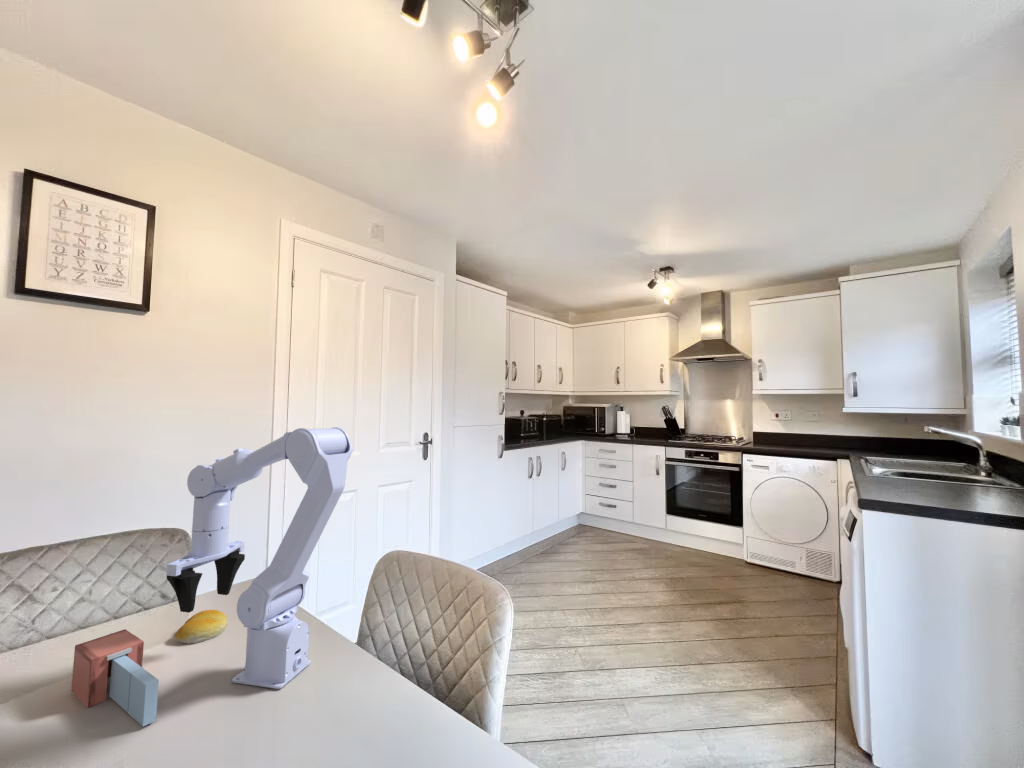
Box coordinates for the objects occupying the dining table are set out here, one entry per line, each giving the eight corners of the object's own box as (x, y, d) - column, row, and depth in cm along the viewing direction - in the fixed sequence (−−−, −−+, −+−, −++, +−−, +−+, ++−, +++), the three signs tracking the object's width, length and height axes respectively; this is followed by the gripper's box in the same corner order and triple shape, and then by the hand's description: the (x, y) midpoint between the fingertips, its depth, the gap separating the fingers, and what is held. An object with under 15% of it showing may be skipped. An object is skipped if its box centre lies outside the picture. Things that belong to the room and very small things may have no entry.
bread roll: (168, 648, 82) (169, 627, 83) (189, 626, 91) (190, 607, 91) (217, 642, 85) (218, 621, 85) (233, 622, 93) (234, 603, 94)
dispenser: (141, 686, 70) (145, 642, 71) (89, 708, 65) (93, 660, 66) (122, 670, 75) (125, 629, 75) (71, 690, 69) (74, 645, 70)
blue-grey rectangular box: (156, 720, 62) (159, 679, 63) (142, 726, 61) (145, 685, 61) (121, 690, 69) (124, 654, 69) (108, 696, 67) (111, 658, 68)
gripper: (225, 518, 89) (221, 585, 88) (154, 537, 75) (148, 617, 73) (254, 520, 87) (250, 588, 86) (188, 539, 73) (182, 621, 72)
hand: (205, 602), depth 80 cm, fingers open, 7 cm apart
